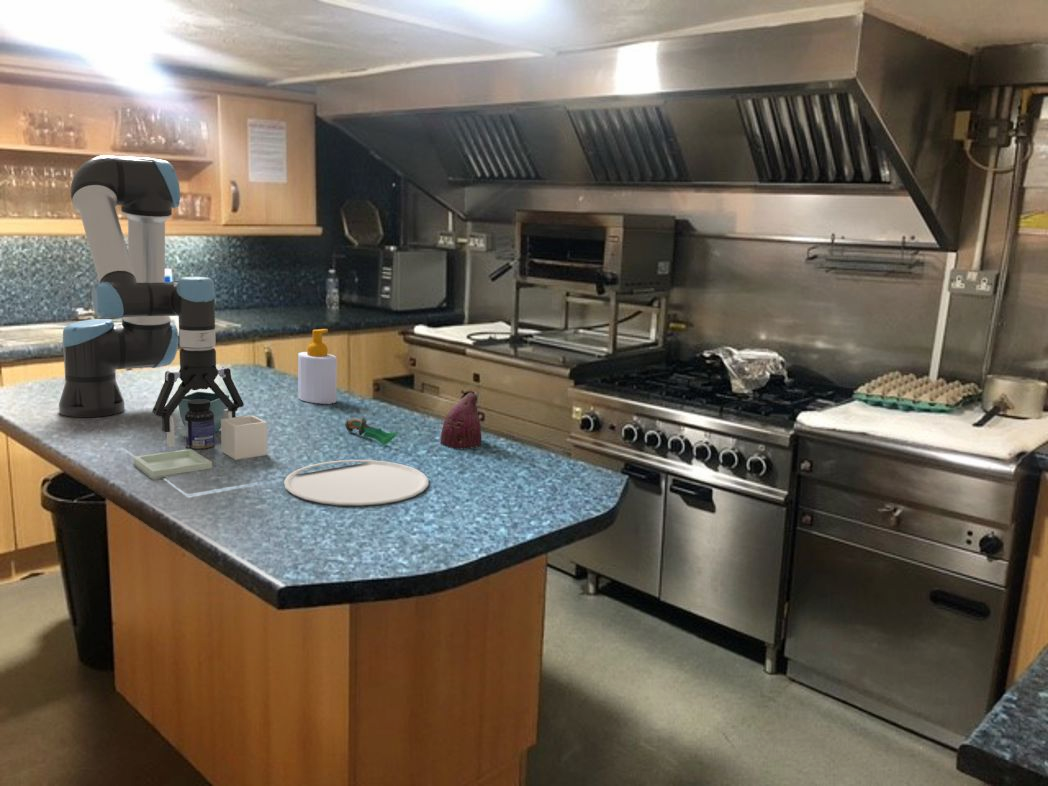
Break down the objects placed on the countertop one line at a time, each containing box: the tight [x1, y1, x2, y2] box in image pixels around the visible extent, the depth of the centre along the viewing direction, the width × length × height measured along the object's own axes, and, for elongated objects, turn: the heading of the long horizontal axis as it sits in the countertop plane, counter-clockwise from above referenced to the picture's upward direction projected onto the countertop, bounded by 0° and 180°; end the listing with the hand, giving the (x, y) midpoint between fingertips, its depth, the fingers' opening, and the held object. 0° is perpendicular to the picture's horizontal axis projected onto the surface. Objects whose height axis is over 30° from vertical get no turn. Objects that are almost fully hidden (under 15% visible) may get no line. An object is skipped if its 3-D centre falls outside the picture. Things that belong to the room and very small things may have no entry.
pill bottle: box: [184, 399, 216, 451], centre depth 193 cm, size 6×6×11 cm
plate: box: [283, 459, 429, 507], centre depth 176 cm, size 29×29×1 cm
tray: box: [132, 448, 213, 481], centre depth 180 cm, size 12×12×2 cm
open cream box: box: [220, 414, 268, 460], centre depth 190 cm, size 7×7×8 cm
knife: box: [344, 417, 399, 446], centre depth 208 cm, size 21×2×5 cm, turn 46°
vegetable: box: [440, 390, 482, 450], centre depth 209 cm, size 10×10×15 cm
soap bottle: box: [297, 328, 338, 405], centre depth 246 cm, size 13×8×20 cm, turn 58°
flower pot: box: [178, 391, 230, 433], centre depth 207 cm, size 9×9×9 cm
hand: (200, 441), depth 194 cm, fingers open, 12 cm apart
